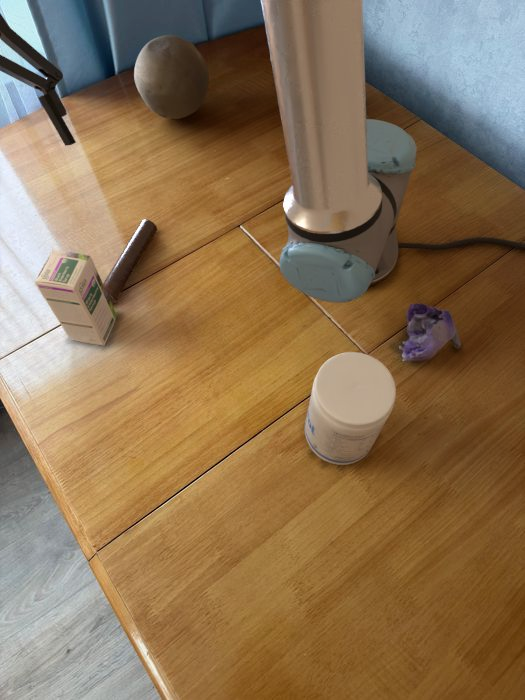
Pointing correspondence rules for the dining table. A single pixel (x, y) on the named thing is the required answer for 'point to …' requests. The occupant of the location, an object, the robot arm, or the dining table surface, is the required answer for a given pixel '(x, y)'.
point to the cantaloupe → (171, 76)
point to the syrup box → (77, 296)
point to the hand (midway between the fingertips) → (26, 167)
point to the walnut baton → (129, 259)
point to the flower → (427, 332)
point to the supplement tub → (348, 407)
